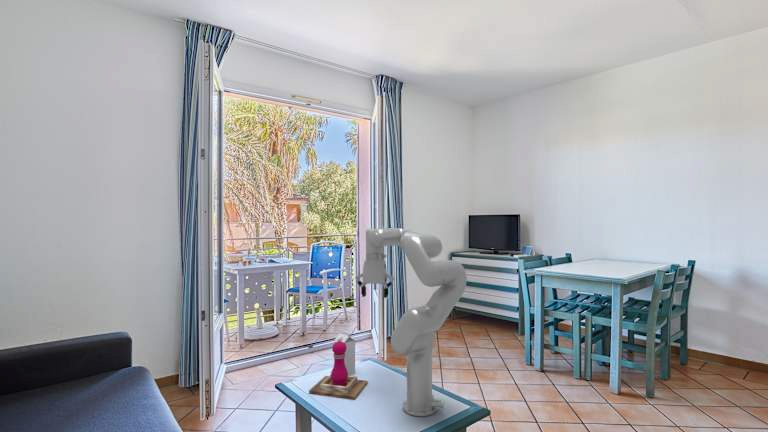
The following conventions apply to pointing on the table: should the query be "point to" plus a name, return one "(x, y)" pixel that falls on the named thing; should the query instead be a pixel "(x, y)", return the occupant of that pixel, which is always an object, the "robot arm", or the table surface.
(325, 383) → the stand
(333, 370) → the pepper mill
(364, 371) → the table surface
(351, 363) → the milk carton
